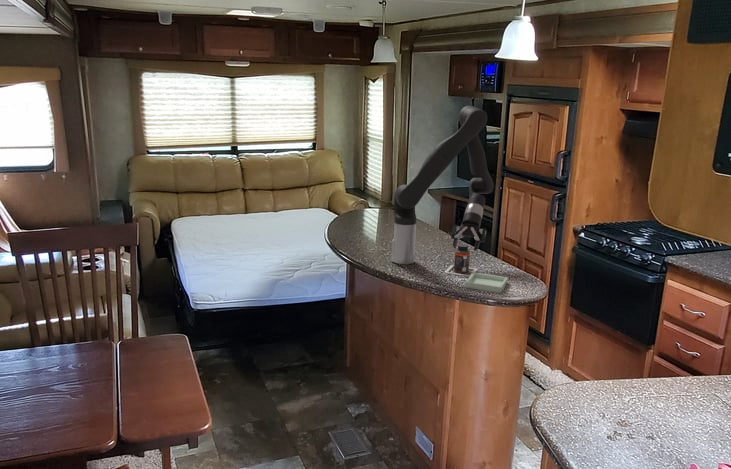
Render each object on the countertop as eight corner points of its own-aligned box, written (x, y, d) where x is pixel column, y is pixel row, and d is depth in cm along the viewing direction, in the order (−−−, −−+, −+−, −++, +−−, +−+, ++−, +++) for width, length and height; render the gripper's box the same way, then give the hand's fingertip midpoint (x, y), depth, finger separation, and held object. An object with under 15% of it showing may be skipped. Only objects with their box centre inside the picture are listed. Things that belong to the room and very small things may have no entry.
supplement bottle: (468, 274, 233) (470, 247, 230) (453, 273, 234) (455, 246, 231) (468, 270, 239) (470, 244, 236) (454, 269, 240) (456, 242, 237)
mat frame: (443, 273, 233) (444, 272, 233) (451, 266, 243) (451, 264, 243) (471, 277, 229) (471, 276, 229) (477, 269, 239) (477, 268, 239)
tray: (464, 287, 217) (465, 282, 217) (473, 277, 229) (473, 272, 229) (500, 293, 212) (501, 287, 211) (507, 282, 224) (507, 277, 224)
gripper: (455, 209, 244) (446, 241, 237) (489, 213, 239) (481, 246, 231) (457, 219, 250) (449, 250, 243) (490, 223, 245) (482, 255, 237)
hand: (464, 248), depth 237 cm, fingers open, 8 cm apart
